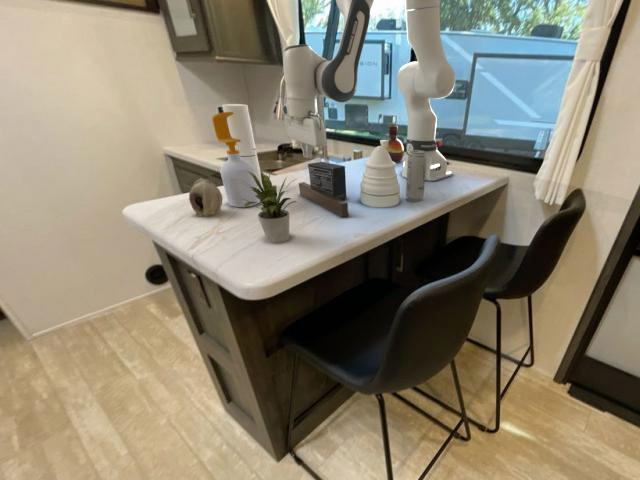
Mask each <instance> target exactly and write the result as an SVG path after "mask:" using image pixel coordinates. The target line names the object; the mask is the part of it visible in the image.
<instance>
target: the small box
mask: <svg viewBox="0 0 640 480" xmlns="http://www.w3.org/2000/svg"><path fill="white" fill-rule="evenodd" d="M307 167H308V168H307V169H308V175H309V185H311V186H313V187H315V188H317V189H319V190H322V191H324V192H326V193H328V194H330V195H332V196H334V197H336V198H338V199H341V200H343V201H345V200H347V199H348V197H347V181H346V166H345V165H341V164H335V163H331V162H327V161H326V162H325V161H317V162H311V163H307Z"/></svg>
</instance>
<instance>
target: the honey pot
mask: <svg viewBox="0 0 640 480" xmlns="http://www.w3.org/2000/svg"><path fill="white" fill-rule="evenodd" d="M379 142H380V145H378V146H376V147H375V148H374V149H373V150H372V152H371V153H370V156H369V158H368V159H367V160H366V161H364V162H363V165H364V167H365V169H364V172H363V174H362V178H361V182H360V185H359V189H360V190H359V191H360V192H359V193H360V203H361V204H363V205H365V206H368V207H372V208H390V207H394V206H397V205H398V204H400V198H401V194H400V193H401V192H400V190H401V185H400V183H399V178H398V173H397V172H396V167H397V162H396V163H395V162H393V161H392V159H391V157H390V155H389V153H388V151H387V150H386V149H385V147H386V146H387V145H388V140H386V139H380V140H379Z"/></svg>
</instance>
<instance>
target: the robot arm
mask: <svg viewBox="0 0 640 480" xmlns="http://www.w3.org/2000/svg"><path fill="white" fill-rule="evenodd" d="M375 1H376V0H335V3H336V6H337V8H338V10H339V12H340V13H341V15H342V16H343V28H342V32H341V36H340V40H339V43H338V47H337V51H336V53H335V55H334V57H333V58H332V59H331V60H328V59H326V58H325V57H323V56H321V55H320V54H318V53H317V52H316V51H315V50H314V49H313V48H311V46H310V45H309V44H306V43H302V44H301V43H300V44H295V45H288V46H287V47H286V48H285V49H284V50H283V54H282V65H283V66H282V67H283V78H284V83H285V85H286V103H285V104H284V105H282V106H281V111H282V114H283V115H284V125H285V130H286V134H287V137H288V138H289V139H290V140H293V141H297V142H299V145H300V148H301V150H302V153H303V158H306V159H312V158H313V152H314V151H313V150H314V147H315V148H323V147H326V145H327V135H326V128H325V124H324V121H323V120H322V117H321V116H320V114H319V110H318V109H319V108H318V96H320V97H322V98H326V99H329V100H332V101H334V102H337V103H346V102H348V101H350V100H351V99H352V98H354V95H355V94H356V91H357V89H358V73H359V71H358V70H359V64H360V59H361V55H362V51H363V48H364V44H365V41H366V37H367V33H368V29H369V24H370V20H371V14H372V11H373V7H374V4H375ZM404 4H405V6H404V8H405V22H406V23H405V25H406V38H407V39H406V40H407V42H408V45H409V46H410V47H411V48H412V50H413V51H414V54H415V56H416V60H417V61H411V62H409V63H407V64H404V65H402V66H401V67H400V68H399V70H398V72H397V77H396V83H397V87H398V89H399V91H400V92H401V94H402V97H403V100H404V102H405V107H406V114H407V137H406V139H405V156H404V161H403V164H402V166H403V168H402V173H401V177H403V178H405V179H407V163H408V155H409V154H410V151H411V150H422V151H425V155H426V157H427V160H426V173H425V181H429V182H435V181H438V180H441V179H445V178H447V177H450V176H452V175H453V173H452V171H450V170H447V169H448V165H449V164H450V162H449V161H448V160H447V159H446V157H445V156H443V154H442V153H441V152H440V151H439V150H438V147H442V145H443V141H442V140H439V139H437V140H436V133H437V131H436V130H437V122H438V120H437V119H438V118H437V114H435V112H434V110H433V109H432V106H431V100H439V99H440V100H441V99H444V98H447V97H449V96H450V95H451V94H452V92H453V90H454V88H455V85H456V72H455V70H454V68H453V66H452V65H451V64H450V63H449V60H448V59H447V57H446V54H445V50H444V48H443V44H442V38H441V37H442V36H441V19H440V18H441V16H440V9H441V8H440V0H404ZM447 161H448V162H447Z"/></svg>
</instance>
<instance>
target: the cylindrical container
mask: <svg viewBox="0 0 640 480" xmlns="http://www.w3.org/2000/svg"><path fill="white" fill-rule="evenodd" d="M221 107H222V112H233V113H234V114H232V115H230V116H228V117H227V122H228V127H229V131H230V135H231V137H232V138H234V139H239V140H241V141H240V142H236V145H235V149H236V150H239V153H240V157H241V159H242V160H243V161H245V162H247V163H249V164H250V165H252V167H253V169H254V172H255V176H256V177H257V179H258V180H259V182H260V184H261V186H262V188H263V185H262V181H261V167H260V163H259V158H258V153H257V147H256V142H255V137H254V132H253V127H252V122H251V117H250V112H249V107H248V105H247V104H241V103H225V104H221ZM257 187H258V185H257ZM263 189H264V188H263ZM258 190H260V188H259V187H258Z"/></svg>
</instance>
